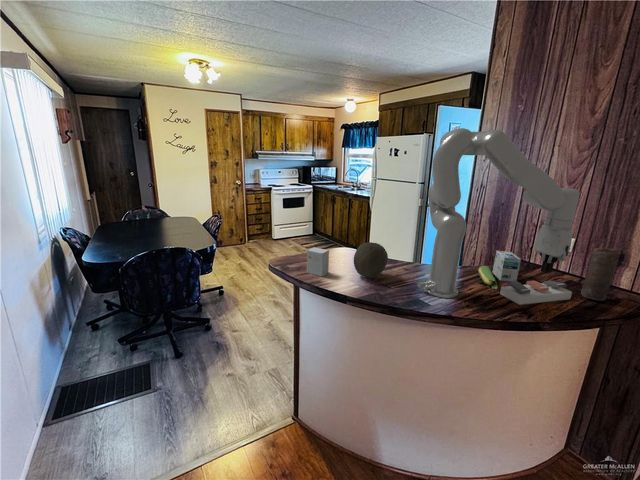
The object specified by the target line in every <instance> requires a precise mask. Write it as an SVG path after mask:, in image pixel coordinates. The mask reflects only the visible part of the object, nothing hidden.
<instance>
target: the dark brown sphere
mask: <svg viewBox="0 0 640 480" xmlns="http://www.w3.org/2000/svg"><path fill="white" fill-rule="evenodd" d="M388 259H389V256H388V252H387V250H386V249H385V247H384V246H383V245H382V244H379V243H377V242H372V241H371V242H370V241H369V242H363V243H361V244H360V245H359V246H358V247H357V249H356V251H355V253H354V255H353V266H354V269H355V270H356V273H357V274H358V275H359V276H361V277H363V278H366V279H370V280H371V279H374V278H376V277H378V276H379V275H381V274H382V272H383V271H384V270H385V268H386V267H387V263H388Z"/></svg>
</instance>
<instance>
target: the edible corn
mask: <svg viewBox="0 0 640 480" xmlns="http://www.w3.org/2000/svg"><path fill="white" fill-rule="evenodd" d="M477 273H478V275H479V277H480V279H481V280H482V282H483V283H484V285H485V286H486V287H487V288H489V289H491V288H492V290H494V289H495V290H498V282H497V280H496V278H495V277H494V273H493V271H492V270H491V268H490V267H489V266H487V265H481V266H479V267H478V268H477ZM490 287H491V288H490Z"/></svg>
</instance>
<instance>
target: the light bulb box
mask: <svg viewBox="0 0 640 480" xmlns="http://www.w3.org/2000/svg"><path fill="white" fill-rule="evenodd" d="M495 251H496V252H495V257H494V262H493V267H492V274H493V275H495V277H496V278H497V279H498V280H499V281H501V282H508V283H509V282H518V281H517V280H518V276H519V271H520V266H521V262H522V261H521V260H522V258H520V257H519V256H517V255H516V254H515V253H514V252H512V251H505V250H504V251H503V250H495Z"/></svg>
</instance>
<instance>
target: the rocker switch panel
mask: <svg viewBox="0 0 640 480" xmlns="http://www.w3.org/2000/svg"><path fill="white" fill-rule="evenodd" d="M539 283H540V284H542V285H544V286H546V287H548V288H549V290H547V291H539V290H537V289H535V288H533V287H531V286H530V285H528V284H523V285H524V286H525V287H526V288H528V289H529V290H531V291H530V293H522V294H521V293H520V292H518V291H517V290H515V289H514V288H513V287H511V286H510V285H508V286H501V287H500V292H499V295H501V296H503V297H504V298H507V299H508V300H510V301H512V302H514V303H516V304H517V305H519V306H520V305H529V304H537V303H538V304H539V303H546V302H556V301H557V302H559V301H568V300H571V297H572V295H573V291H571V290H569V289H567V288H565V287H561V288H557V287H553V286H549V285H545V284H543V282H542V283H541V282H539Z"/></svg>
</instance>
